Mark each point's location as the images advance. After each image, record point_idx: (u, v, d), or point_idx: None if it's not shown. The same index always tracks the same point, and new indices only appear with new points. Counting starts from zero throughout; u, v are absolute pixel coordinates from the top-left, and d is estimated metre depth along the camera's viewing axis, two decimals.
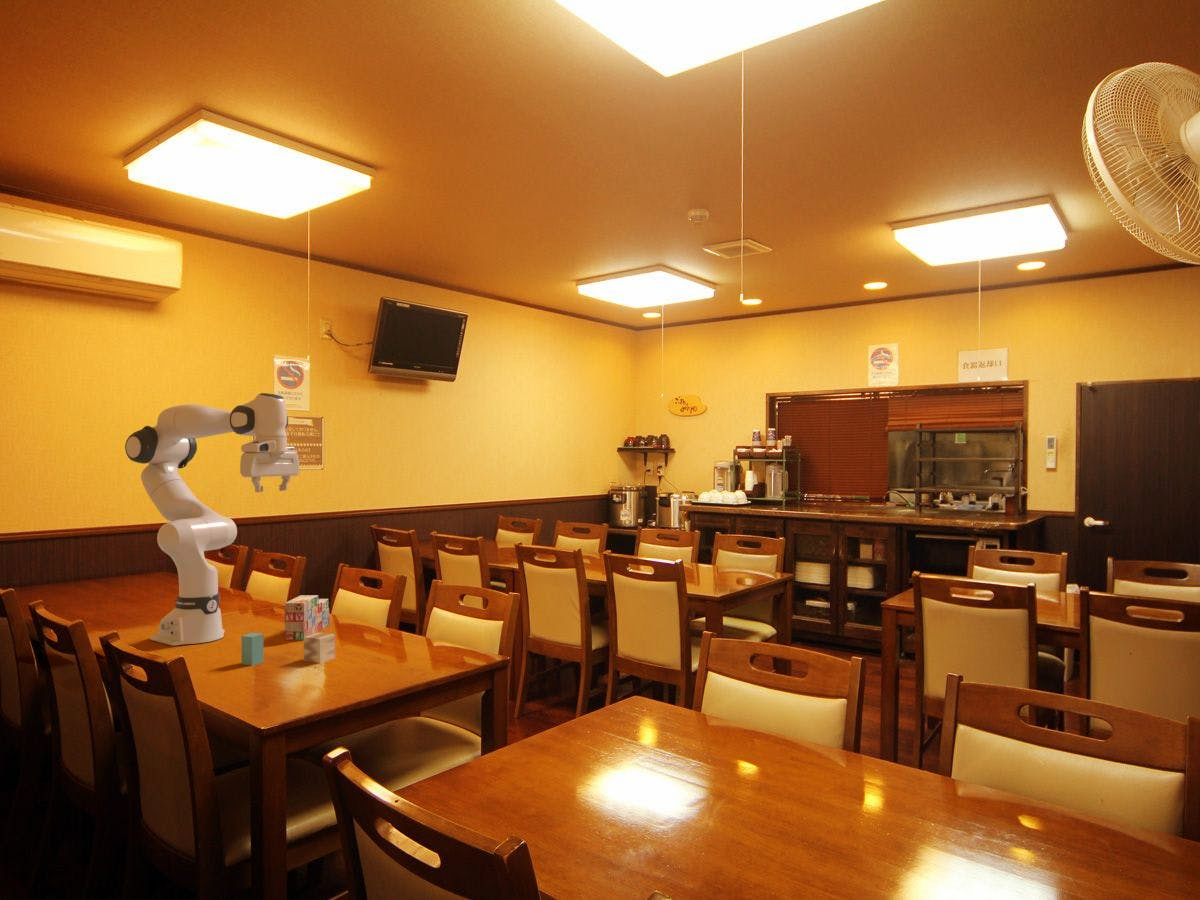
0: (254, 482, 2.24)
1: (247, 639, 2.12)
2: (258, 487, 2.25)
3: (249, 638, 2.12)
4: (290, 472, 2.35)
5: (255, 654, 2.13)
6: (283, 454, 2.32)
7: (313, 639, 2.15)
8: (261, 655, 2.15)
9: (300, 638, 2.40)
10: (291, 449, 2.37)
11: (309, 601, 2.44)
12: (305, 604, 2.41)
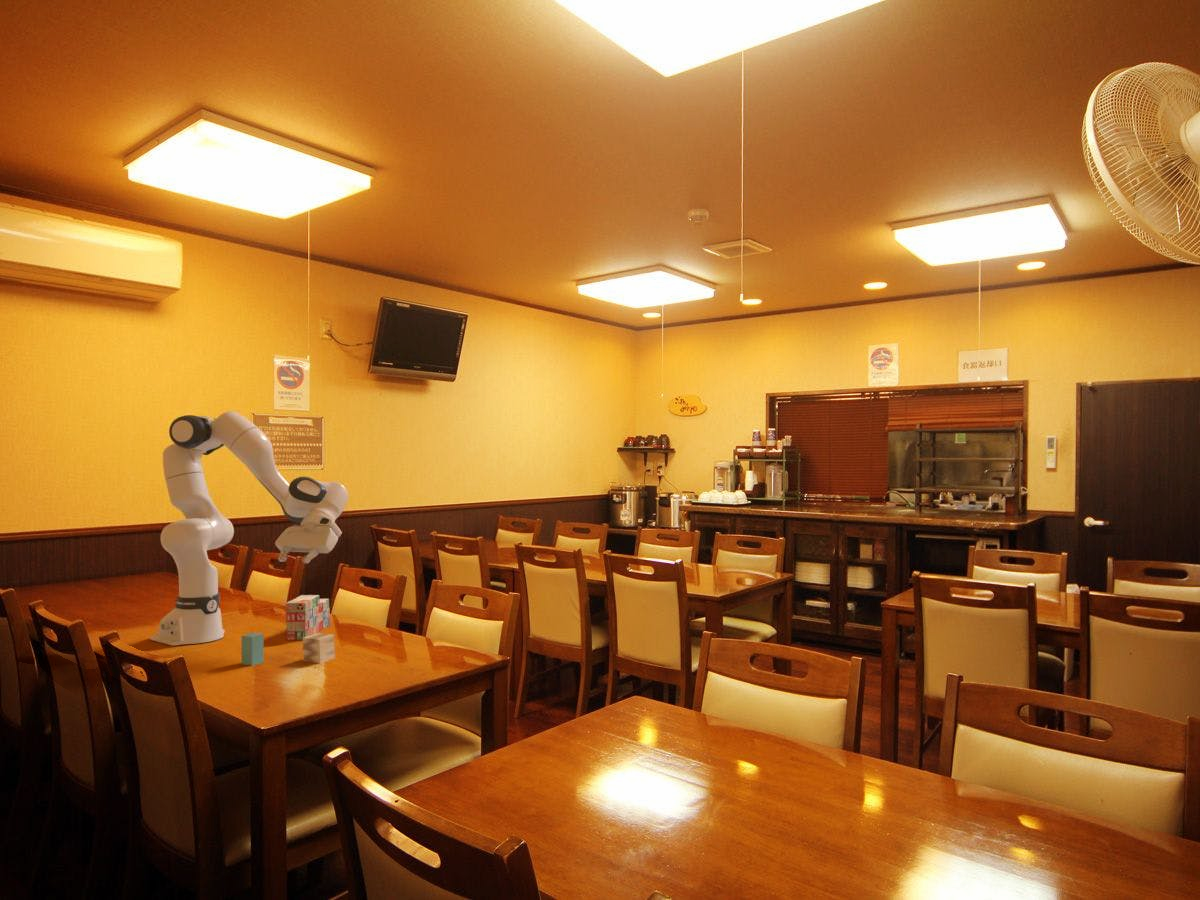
0: (313, 554, 2.28)
1: (247, 639, 2.12)
2: (310, 559, 2.28)
3: (249, 638, 2.12)
4: None
5: (255, 654, 2.13)
6: None
7: (312, 640, 2.15)
8: (261, 655, 2.15)
9: (302, 638, 2.40)
10: None
11: (310, 601, 2.45)
12: (306, 604, 2.41)
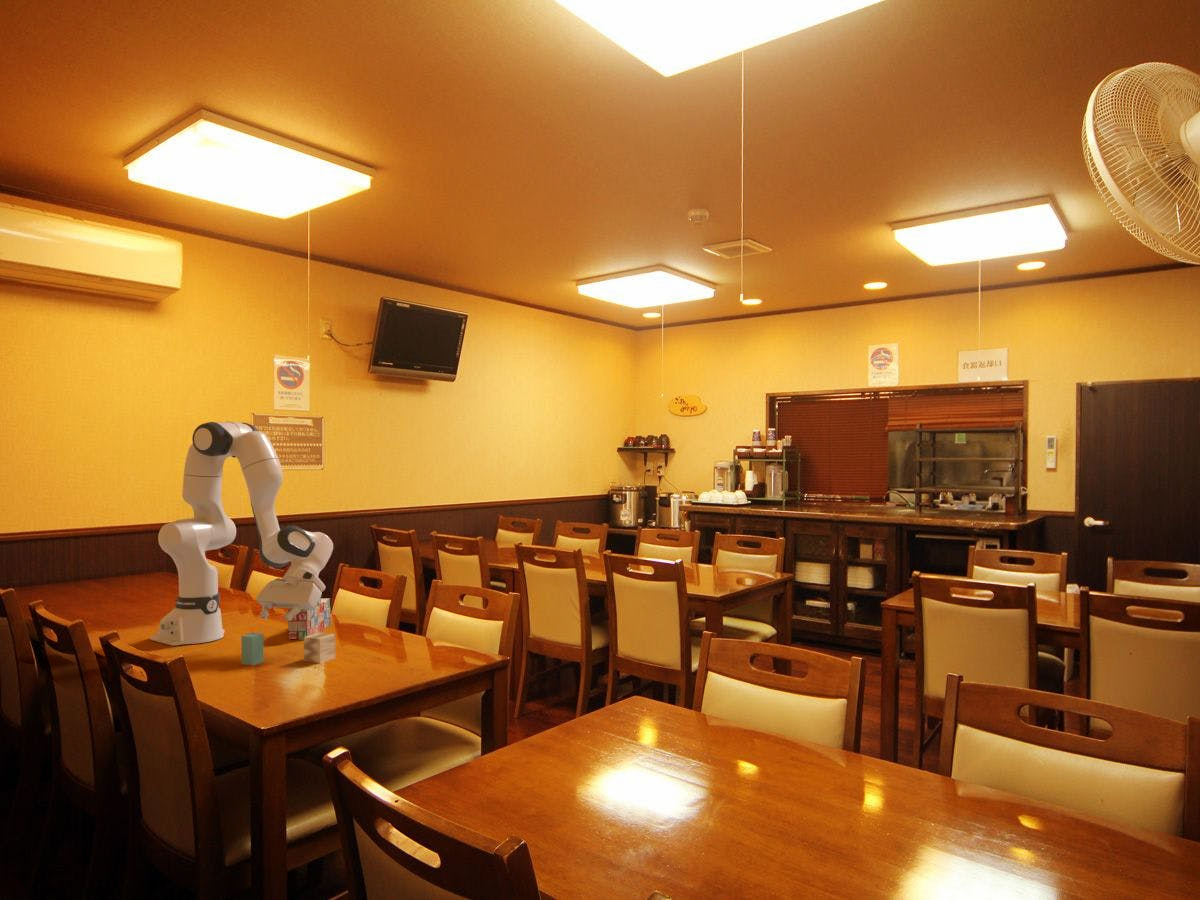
0: (296, 610, 2.21)
1: (247, 639, 2.12)
2: (292, 616, 2.21)
3: (249, 638, 2.12)
4: None
5: (255, 654, 2.13)
6: None
7: (313, 639, 2.15)
8: (261, 655, 2.15)
9: (303, 637, 2.41)
10: None
11: None
12: None
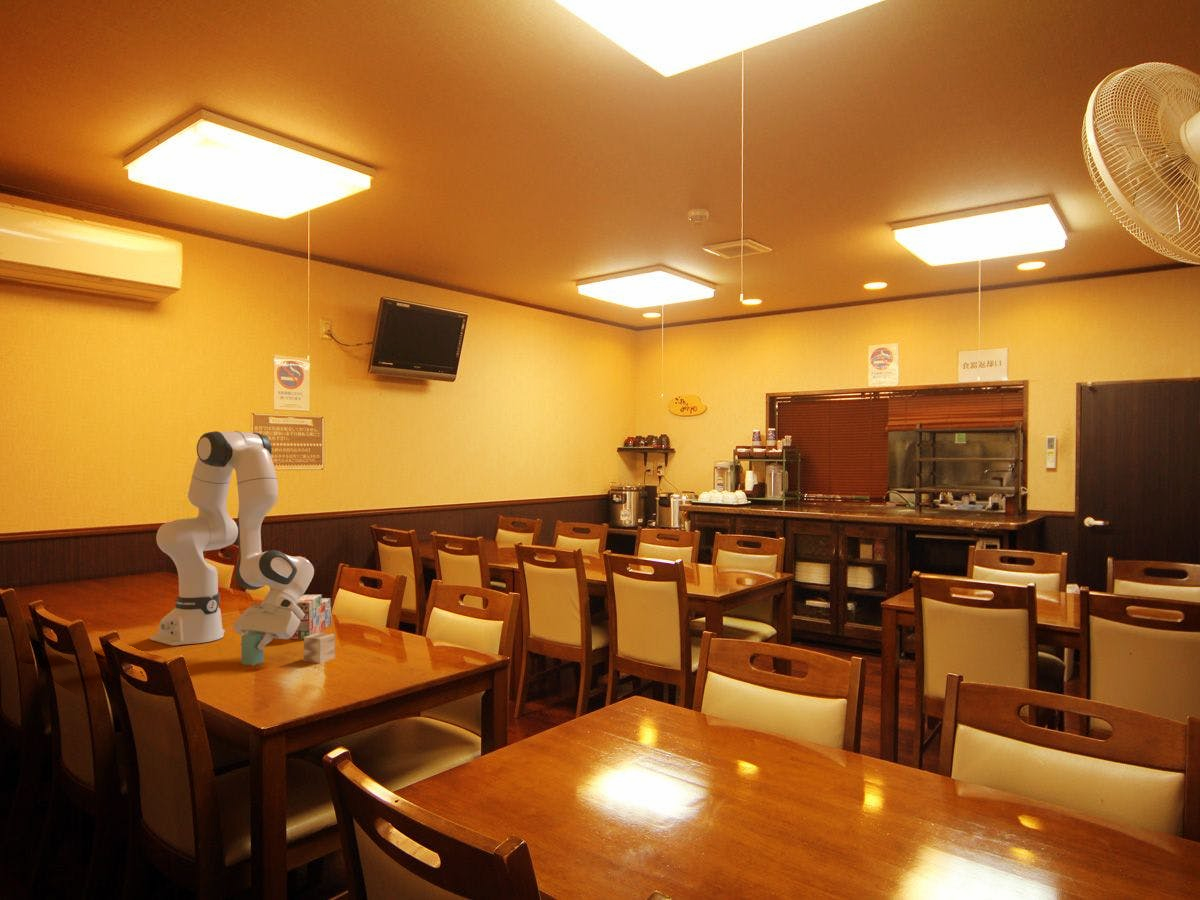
0: (267, 639, 2.14)
1: (247, 639, 2.12)
2: (263, 645, 2.14)
3: (249, 638, 2.12)
4: None
5: (255, 654, 2.13)
6: None
7: (313, 639, 2.15)
8: (261, 655, 2.15)
9: None
10: None
11: (314, 600, 2.45)
12: (310, 603, 2.42)
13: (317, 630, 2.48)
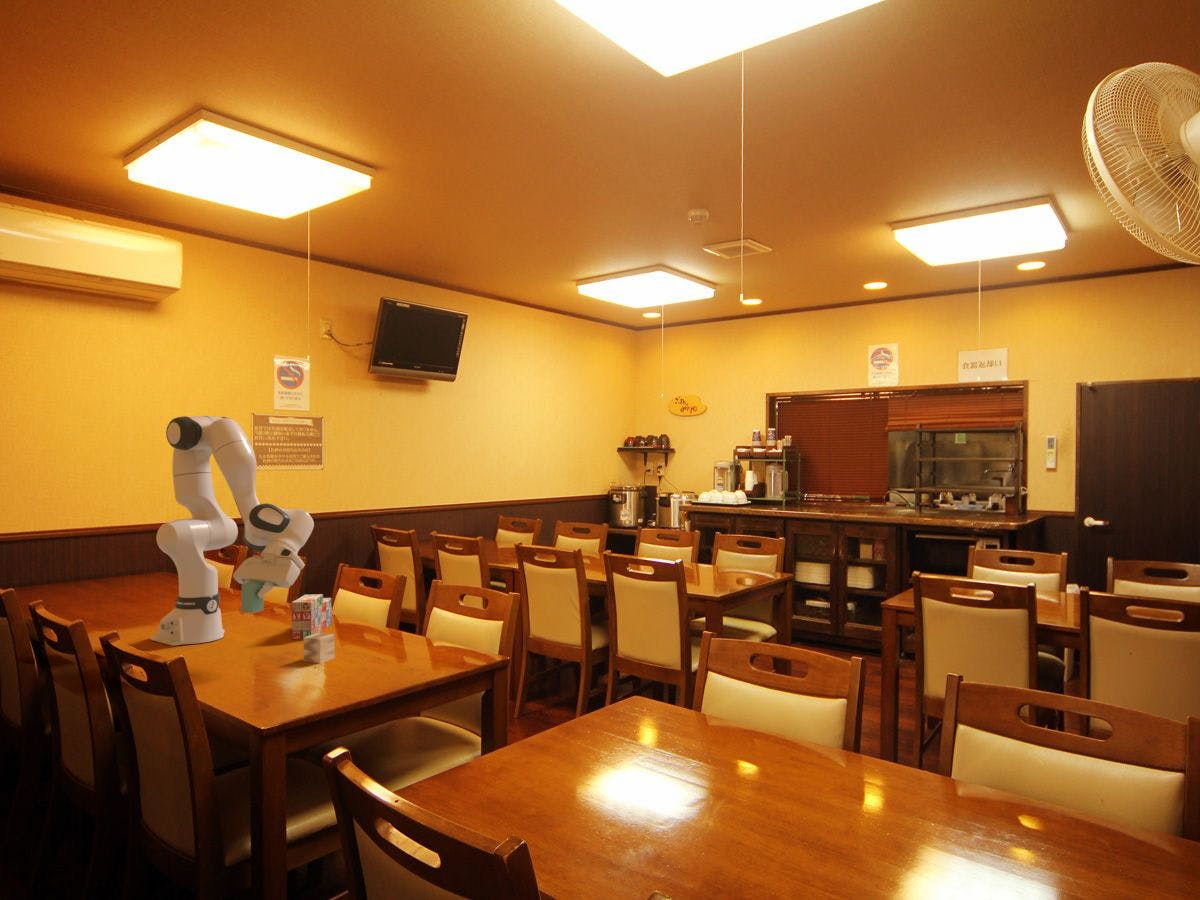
0: (267, 588, 2.14)
1: (247, 586, 2.12)
2: (263, 593, 2.14)
3: (249, 586, 2.12)
4: None
5: (255, 602, 2.13)
6: None
7: (313, 639, 2.15)
8: (261, 603, 2.15)
9: None
10: None
11: (315, 600, 2.46)
12: (312, 603, 2.43)
13: (318, 630, 2.49)
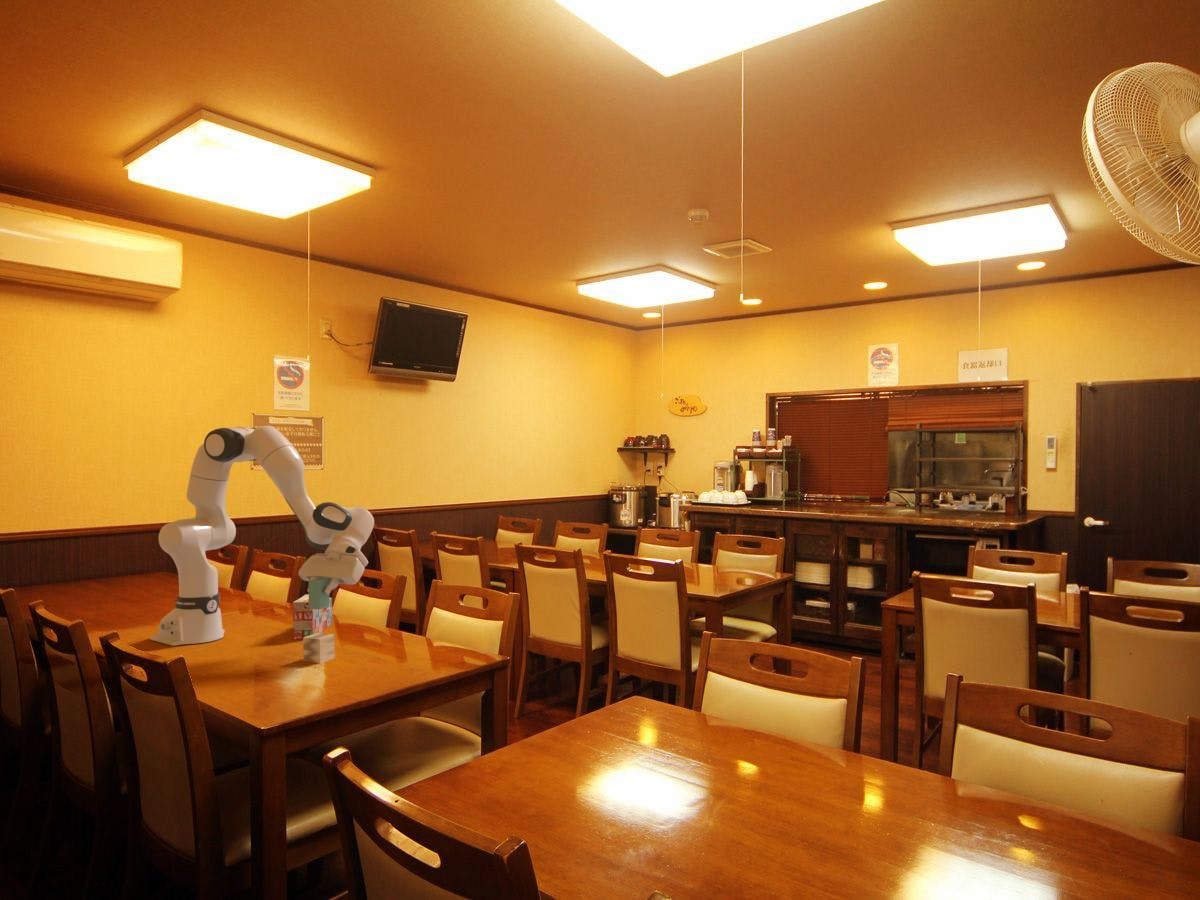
0: (334, 584, 2.18)
1: (315, 583, 2.16)
2: (330, 590, 2.17)
3: (316, 582, 2.16)
4: None
5: (322, 598, 2.16)
6: None
7: (313, 639, 2.15)
8: (327, 600, 2.18)
9: None
10: None
11: None
12: None
13: (320, 629, 2.49)
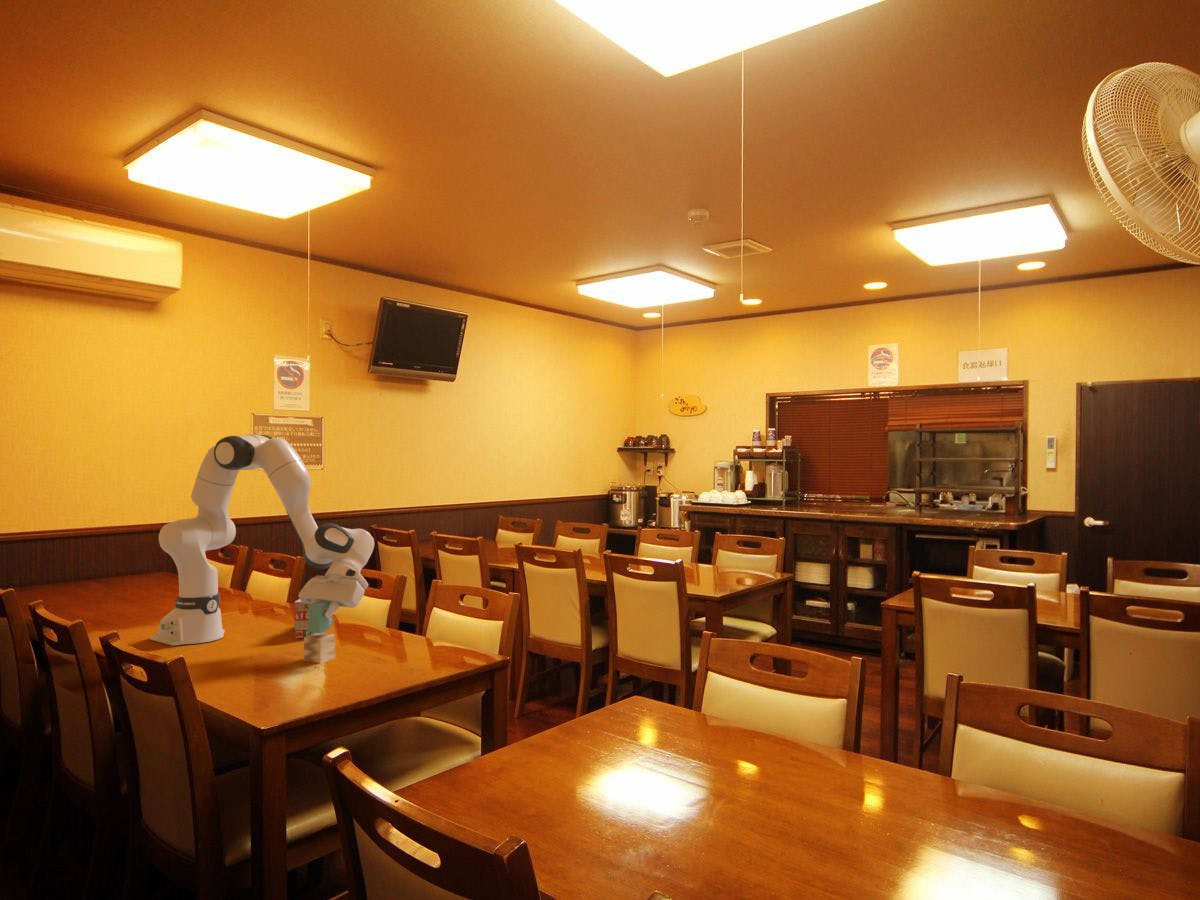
0: (334, 608, 2.18)
1: (315, 607, 2.16)
2: (330, 613, 2.17)
3: (316, 606, 2.16)
4: None
5: (322, 622, 2.16)
6: None
7: (313, 639, 2.15)
8: (327, 623, 2.18)
9: None
10: None
11: None
12: None
13: None
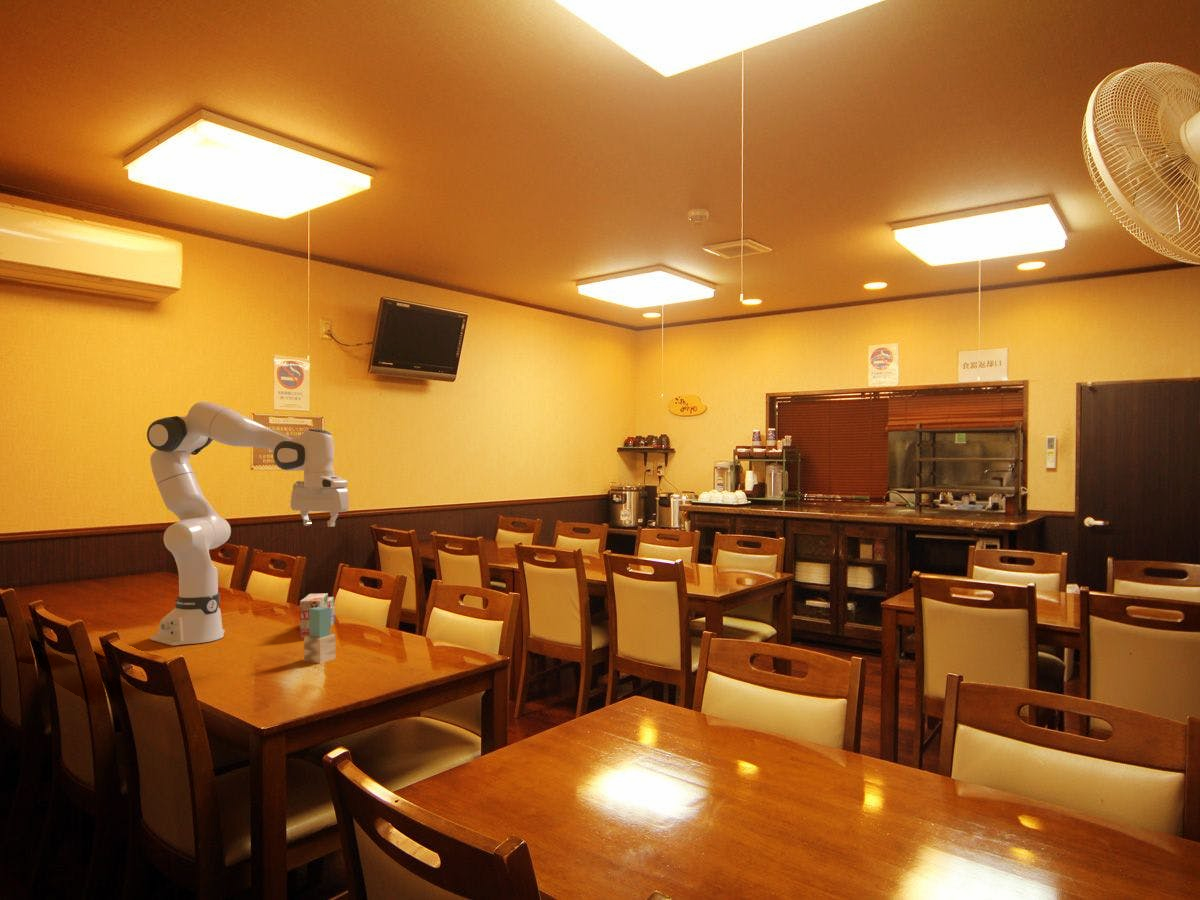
0: (334, 516, 2.31)
1: (315, 612, 2.16)
2: (334, 521, 2.32)
3: (316, 611, 2.16)
4: None
5: (322, 627, 2.16)
6: None
7: (313, 639, 2.15)
8: (328, 628, 2.18)
9: None
10: None
11: (322, 599, 2.48)
12: (320, 602, 2.45)
13: None
